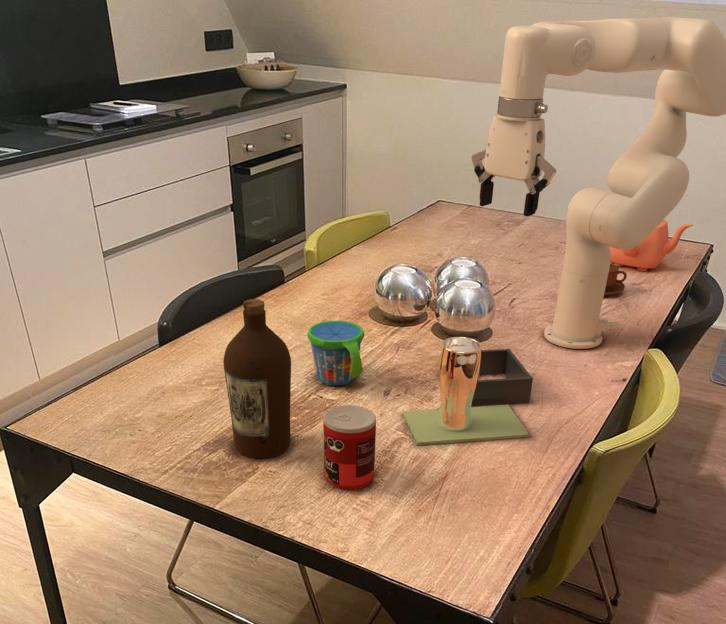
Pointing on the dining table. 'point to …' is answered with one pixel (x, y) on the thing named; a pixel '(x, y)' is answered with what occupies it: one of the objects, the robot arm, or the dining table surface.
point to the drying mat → (484, 427)
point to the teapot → (649, 248)
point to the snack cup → (336, 351)
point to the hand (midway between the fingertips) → (507, 209)
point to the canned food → (349, 446)
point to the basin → (502, 389)
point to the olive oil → (258, 386)
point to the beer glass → (458, 381)
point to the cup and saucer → (614, 281)
